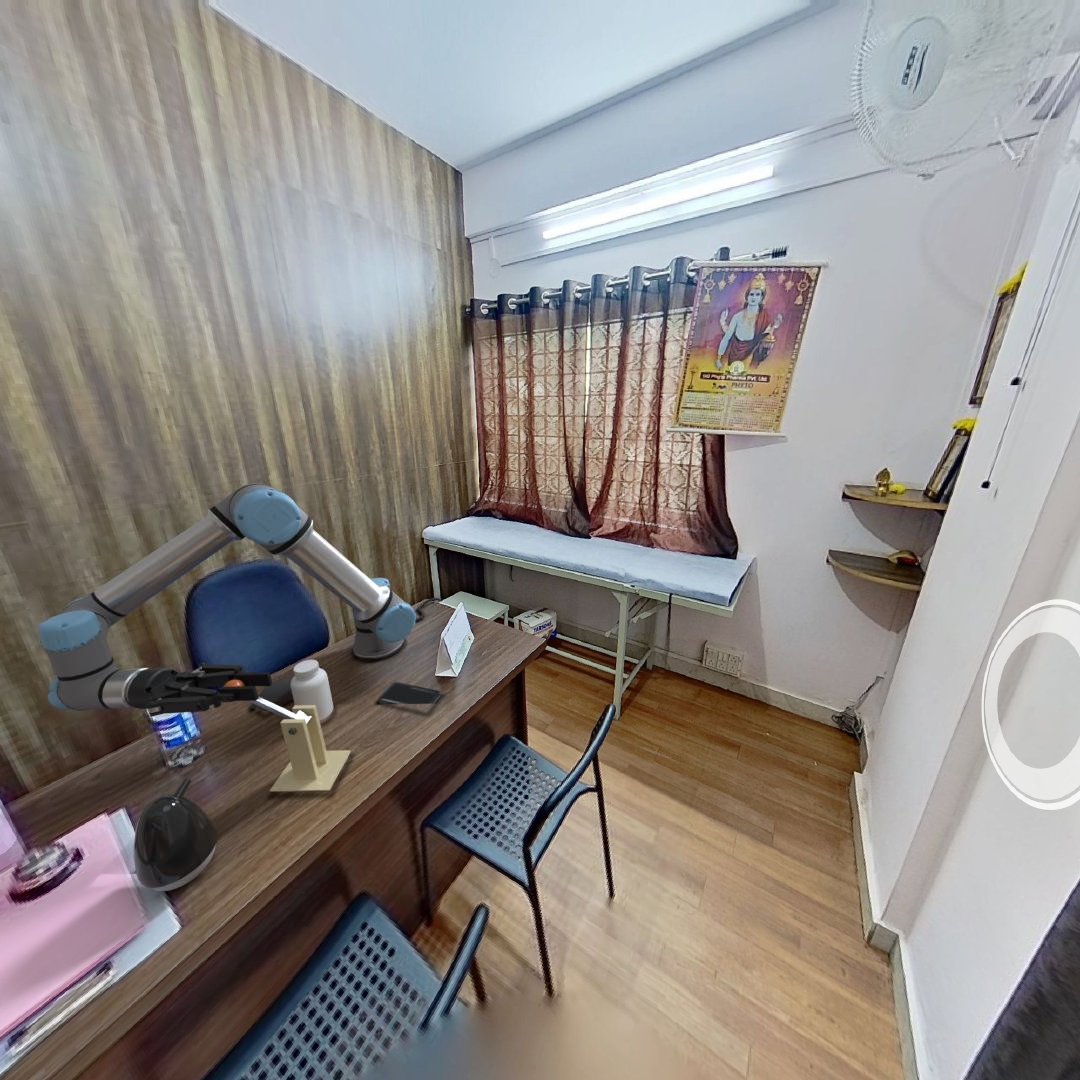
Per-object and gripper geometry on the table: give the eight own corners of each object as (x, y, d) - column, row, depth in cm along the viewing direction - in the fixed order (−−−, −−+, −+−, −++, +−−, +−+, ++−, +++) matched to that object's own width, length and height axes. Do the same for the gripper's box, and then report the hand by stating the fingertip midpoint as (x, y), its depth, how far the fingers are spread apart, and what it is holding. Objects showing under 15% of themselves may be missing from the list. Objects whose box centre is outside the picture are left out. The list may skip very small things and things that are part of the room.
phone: (425, 711, 103) (376, 699, 108) (426, 714, 104) (377, 702, 108) (442, 691, 111) (395, 680, 115) (443, 694, 111) (396, 684, 116)
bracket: (270, 796, 83) (252, 732, 78) (298, 756, 92) (283, 697, 88) (330, 795, 83) (315, 731, 78) (352, 755, 92) (339, 696, 87)
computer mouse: (316, 687, 115) (313, 675, 114) (265, 718, 104) (262, 705, 103) (299, 678, 119) (296, 667, 118) (248, 707, 108) (244, 695, 107)
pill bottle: (320, 730, 100) (308, 677, 95) (291, 725, 101) (278, 673, 97) (341, 707, 107) (331, 657, 103) (314, 703, 109) (303, 654, 104)
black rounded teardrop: (238, 838, 75) (215, 773, 70) (189, 904, 65) (159, 834, 60) (184, 837, 75) (158, 772, 71) (127, 903, 65) (93, 832, 61)
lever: (214, 697, 79) (221, 684, 79) (228, 685, 83) (234, 672, 82) (298, 736, 82) (305, 724, 81) (308, 723, 86) (315, 711, 85)
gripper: (184, 677, 90) (291, 675, 90) (108, 735, 74) (238, 733, 74) (174, 647, 88) (284, 645, 88) (93, 701, 72) (227, 698, 72)
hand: (262, 686), depth 81 cm, fingers closed on lever, 4 cm apart
